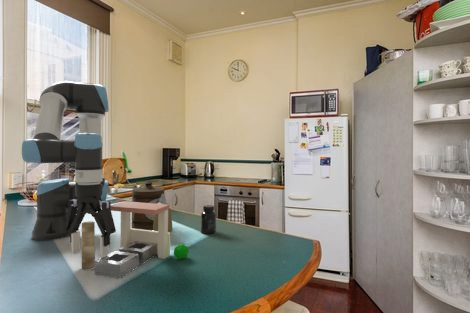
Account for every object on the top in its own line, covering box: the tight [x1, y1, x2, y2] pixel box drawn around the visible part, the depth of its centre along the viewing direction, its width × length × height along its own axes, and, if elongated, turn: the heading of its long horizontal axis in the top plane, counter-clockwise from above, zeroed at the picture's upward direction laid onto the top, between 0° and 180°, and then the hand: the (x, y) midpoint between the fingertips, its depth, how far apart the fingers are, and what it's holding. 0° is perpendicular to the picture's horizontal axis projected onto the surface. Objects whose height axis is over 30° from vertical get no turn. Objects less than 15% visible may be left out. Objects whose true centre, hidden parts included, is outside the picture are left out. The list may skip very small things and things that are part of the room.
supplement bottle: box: [200, 204, 217, 236], centre depth 130 cm, size 7×7×12 cm
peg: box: [81, 221, 96, 271], centre depth 91 cm, size 4×4×14 cm
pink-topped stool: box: [110, 200, 171, 260], centre depth 100 cm, size 18×10×18 cm, turn 74°
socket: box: [93, 250, 140, 279], centre depth 89 cm, size 9×9×4 cm
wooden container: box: [131, 180, 165, 231], centre depth 137 cm, size 15×15×22 cm
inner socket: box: [118, 241, 158, 265], centre depth 99 cm, size 9×9×4 cm
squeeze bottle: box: [153, 193, 174, 235], centre depth 122 cm, size 8×8×18 cm
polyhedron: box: [173, 243, 189, 260], centre depth 99 cm, size 5×5×5 cm
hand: (89, 254), depth 90 cm, fingers open, 10 cm apart
